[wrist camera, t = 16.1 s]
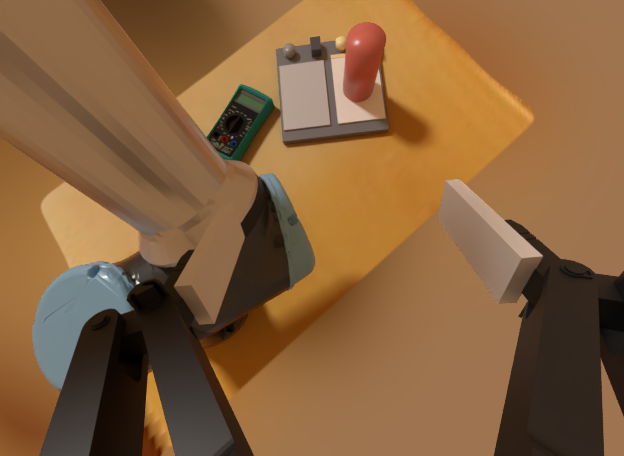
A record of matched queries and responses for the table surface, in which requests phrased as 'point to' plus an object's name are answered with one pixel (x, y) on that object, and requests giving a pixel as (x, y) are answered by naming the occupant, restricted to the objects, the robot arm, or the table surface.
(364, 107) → the board
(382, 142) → the table surface
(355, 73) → the pink domed cylinder
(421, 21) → the table surface
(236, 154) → the digital multimeter
